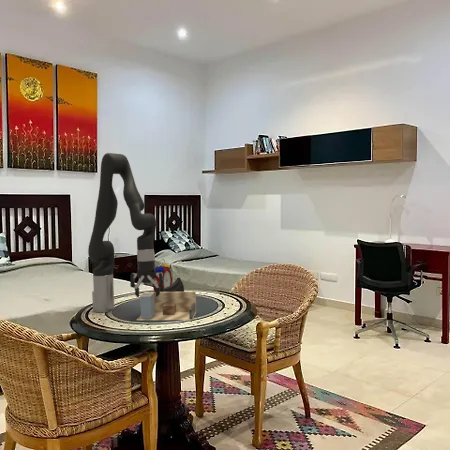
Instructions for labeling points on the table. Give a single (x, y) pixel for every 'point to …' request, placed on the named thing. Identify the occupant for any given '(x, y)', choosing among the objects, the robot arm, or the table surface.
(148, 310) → the blue grey block
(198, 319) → the table surface
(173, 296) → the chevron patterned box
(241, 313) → the table surface
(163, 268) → the alarm clock
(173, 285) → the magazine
